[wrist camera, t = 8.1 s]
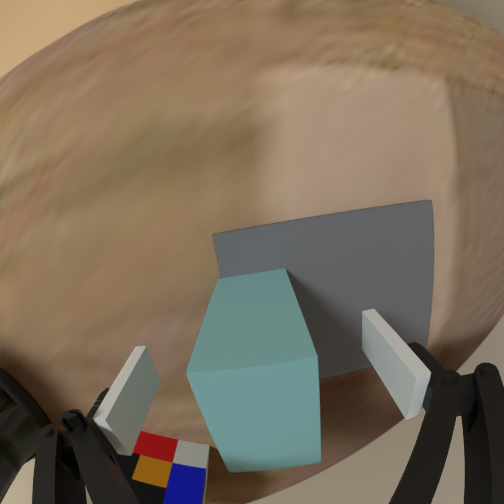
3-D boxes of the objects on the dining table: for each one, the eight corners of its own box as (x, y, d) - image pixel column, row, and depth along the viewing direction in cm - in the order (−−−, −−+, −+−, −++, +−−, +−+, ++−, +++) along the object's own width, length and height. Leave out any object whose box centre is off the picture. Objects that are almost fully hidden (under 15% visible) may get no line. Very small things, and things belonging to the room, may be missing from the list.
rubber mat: (248, 386, 21) (248, 391, 21) (213, 233, 18) (212, 235, 18) (422, 345, 21) (425, 348, 20) (427, 199, 18) (431, 200, 17)
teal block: (237, 363, 20) (229, 472, 10) (217, 279, 19) (186, 373, 9) (296, 355, 20) (320, 461, 10) (285, 268, 18) (317, 356, 9)
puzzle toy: (209, 444, 24) (198, 522, 14) (207, 482, 26) (199, 543, 16) (120, 424, 23) (89, 492, 14) (133, 466, 26) (114, 522, 16)
